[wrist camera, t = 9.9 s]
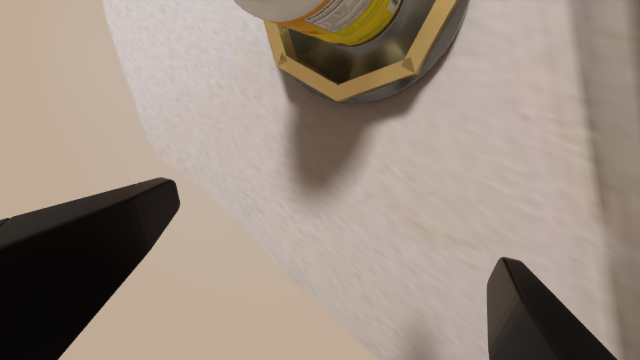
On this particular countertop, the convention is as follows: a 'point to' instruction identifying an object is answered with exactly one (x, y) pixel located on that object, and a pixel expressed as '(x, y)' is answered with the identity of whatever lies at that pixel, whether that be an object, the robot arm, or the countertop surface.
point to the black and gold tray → (371, 53)
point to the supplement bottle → (329, 17)
